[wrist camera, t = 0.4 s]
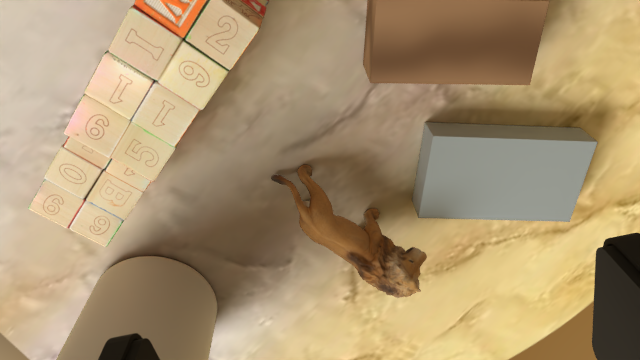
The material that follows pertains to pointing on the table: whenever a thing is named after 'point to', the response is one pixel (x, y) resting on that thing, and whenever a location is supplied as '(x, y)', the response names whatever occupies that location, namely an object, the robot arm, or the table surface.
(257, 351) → the table surface
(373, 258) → the lion figurine
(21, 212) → the table surface
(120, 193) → the stack of blocks
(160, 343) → the cylinder vase
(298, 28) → the table surface
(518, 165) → the base slab
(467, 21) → the walnut brick
